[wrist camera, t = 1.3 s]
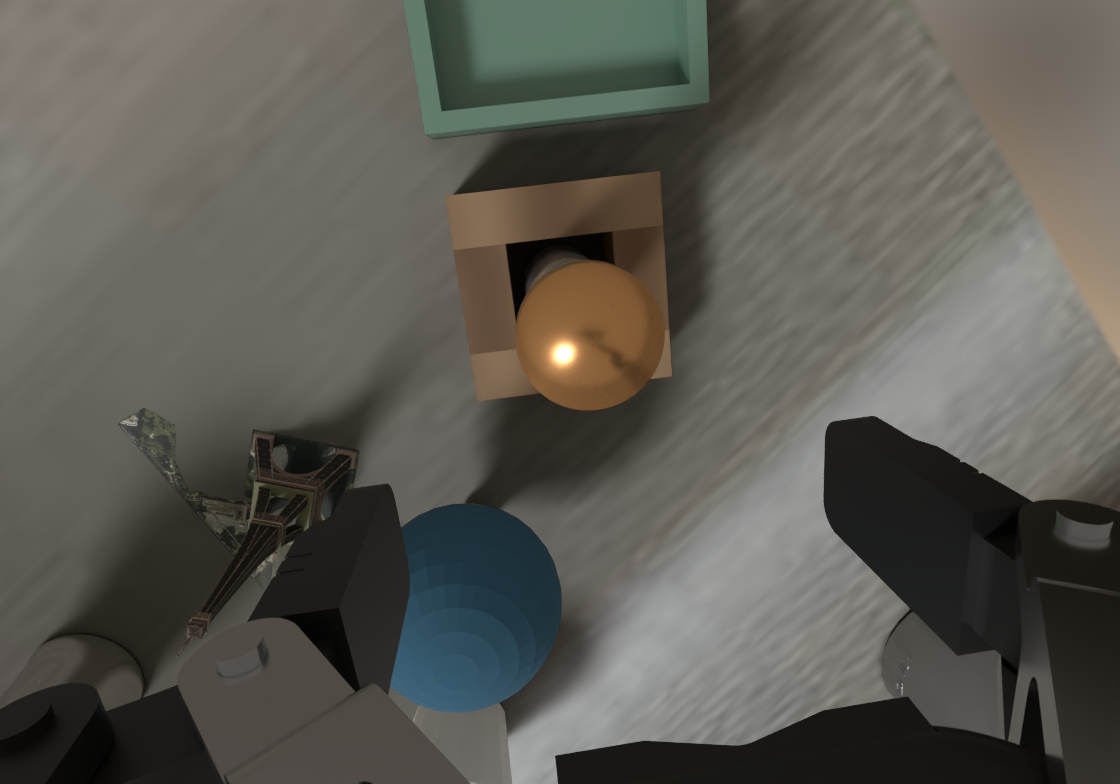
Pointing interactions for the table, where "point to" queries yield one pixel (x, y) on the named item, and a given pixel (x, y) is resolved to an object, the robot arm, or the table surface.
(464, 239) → the socket block
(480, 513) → the light bulb
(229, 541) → the eiffel tower figurine
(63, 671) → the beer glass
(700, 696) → the table surface
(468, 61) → the tray
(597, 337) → the pin
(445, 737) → the white cylinder
